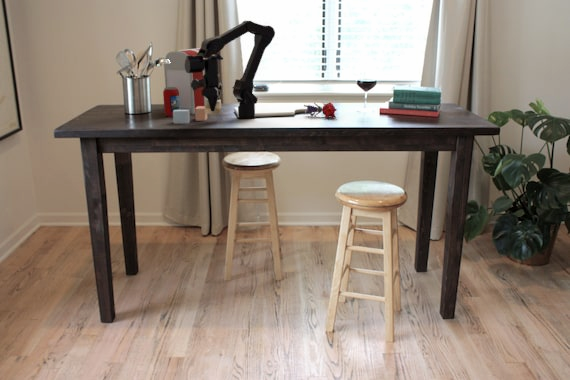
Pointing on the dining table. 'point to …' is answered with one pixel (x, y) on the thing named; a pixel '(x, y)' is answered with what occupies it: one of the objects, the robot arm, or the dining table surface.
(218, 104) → the maple block
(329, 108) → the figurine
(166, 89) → the beverage can
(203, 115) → the terracotta block
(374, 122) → the dining table surface
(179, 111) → the gray block
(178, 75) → the striped red arch
